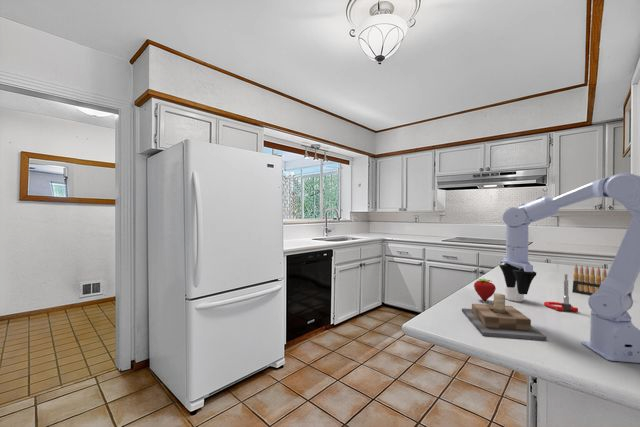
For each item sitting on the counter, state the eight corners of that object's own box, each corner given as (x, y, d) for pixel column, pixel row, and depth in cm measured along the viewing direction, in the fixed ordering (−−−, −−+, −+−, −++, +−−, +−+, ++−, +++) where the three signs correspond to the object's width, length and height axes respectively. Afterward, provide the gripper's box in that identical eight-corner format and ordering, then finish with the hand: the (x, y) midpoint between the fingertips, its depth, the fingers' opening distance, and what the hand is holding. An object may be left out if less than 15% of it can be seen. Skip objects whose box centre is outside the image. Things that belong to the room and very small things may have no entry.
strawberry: (492, 304, 109) (492, 277, 109) (471, 299, 115) (471, 274, 115) (497, 301, 113) (498, 275, 113) (477, 297, 119) (477, 272, 119)
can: (504, 300, 115) (505, 269, 114) (503, 296, 120) (503, 266, 120) (524, 303, 112) (525, 271, 111) (522, 298, 117) (523, 268, 117)
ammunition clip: (572, 292, 126) (572, 264, 126) (573, 291, 127) (574, 263, 127) (606, 298, 118) (607, 268, 118) (607, 297, 119) (608, 268, 119)
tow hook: (538, 304, 112) (554, 311, 103) (538, 269, 112) (554, 274, 103) (563, 305, 111) (581, 312, 102) (563, 270, 111) (581, 275, 102)
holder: (546, 340, 80) (546, 325, 80) (482, 335, 83) (482, 321, 83) (512, 314, 100) (512, 302, 100) (461, 311, 103) (461, 299, 102)
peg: (506, 322, 90) (506, 296, 89) (495, 322, 90) (496, 296, 90) (502, 319, 92) (502, 293, 92) (491, 318, 93) (492, 293, 93)
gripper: (493, 243, 99) (492, 284, 99) (514, 249, 85) (513, 296, 85) (516, 244, 98) (515, 284, 98) (541, 250, 84) (540, 297, 84)
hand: (516, 290), depth 91 cm, fingers open, 7 cm apart
